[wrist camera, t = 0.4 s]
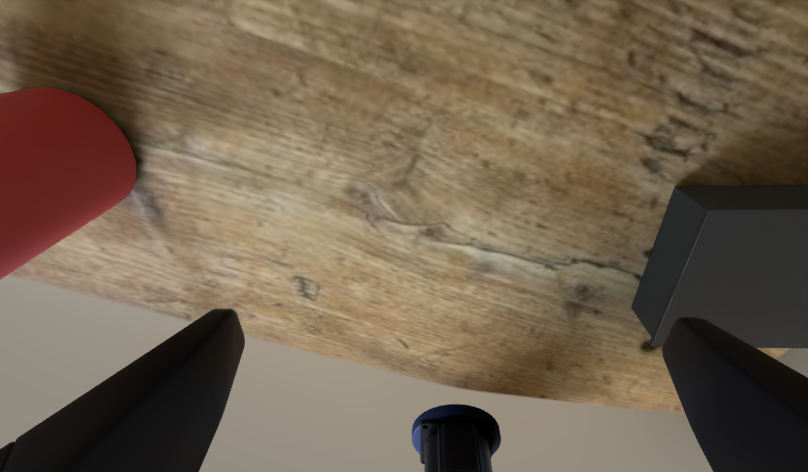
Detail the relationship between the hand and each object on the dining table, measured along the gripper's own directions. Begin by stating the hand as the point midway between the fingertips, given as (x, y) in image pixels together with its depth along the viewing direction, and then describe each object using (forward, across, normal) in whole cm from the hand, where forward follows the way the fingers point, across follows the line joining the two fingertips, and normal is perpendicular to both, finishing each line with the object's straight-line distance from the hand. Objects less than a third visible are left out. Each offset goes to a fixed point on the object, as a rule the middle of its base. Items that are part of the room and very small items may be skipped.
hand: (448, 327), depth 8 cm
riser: (+14, -17, +7) cm, 23 cm away
